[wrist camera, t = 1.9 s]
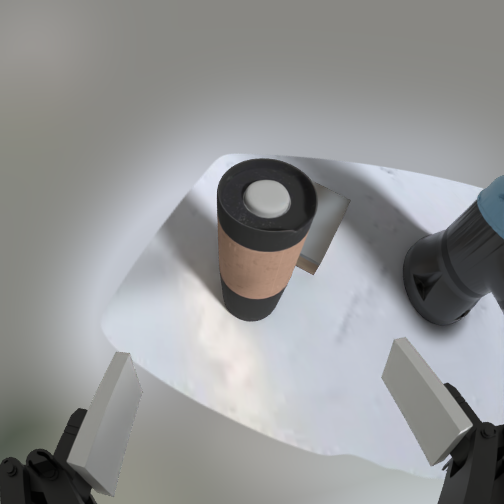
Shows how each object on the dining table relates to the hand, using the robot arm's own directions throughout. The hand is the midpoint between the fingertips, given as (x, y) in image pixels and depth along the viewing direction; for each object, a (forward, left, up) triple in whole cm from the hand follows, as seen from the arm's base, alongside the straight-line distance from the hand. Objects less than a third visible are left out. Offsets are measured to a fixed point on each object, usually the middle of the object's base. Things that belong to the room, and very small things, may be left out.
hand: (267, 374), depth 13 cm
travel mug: (+6, -9, -22) cm, 25 cm away
